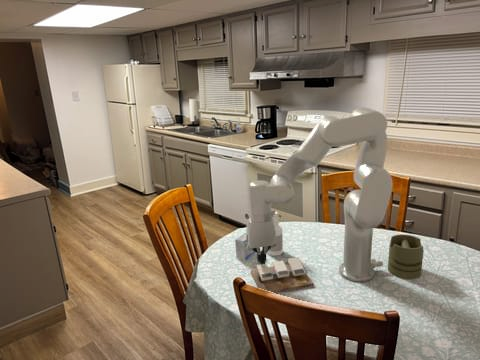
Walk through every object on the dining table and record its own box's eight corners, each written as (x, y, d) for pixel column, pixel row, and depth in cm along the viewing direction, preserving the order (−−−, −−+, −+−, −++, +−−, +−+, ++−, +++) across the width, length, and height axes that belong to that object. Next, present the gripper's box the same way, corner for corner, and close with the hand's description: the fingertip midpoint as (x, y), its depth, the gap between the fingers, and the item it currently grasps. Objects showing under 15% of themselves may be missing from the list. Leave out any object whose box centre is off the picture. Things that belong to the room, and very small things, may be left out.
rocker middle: (282, 263, 136) (282, 260, 136) (289, 276, 130) (289, 273, 130) (272, 264, 136) (272, 261, 135) (278, 278, 130) (278, 275, 129)
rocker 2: (298, 258, 137) (298, 256, 136) (304, 274, 132) (305, 272, 131) (287, 260, 136) (288, 258, 136) (294, 276, 131) (294, 274, 130)
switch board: (297, 265, 143) (297, 257, 142) (313, 286, 129) (313, 278, 128) (250, 272, 139) (250, 265, 138) (261, 295, 125) (261, 287, 124)
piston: (391, 247, 128) (388, 233, 138) (389, 277, 132) (386, 261, 142) (427, 250, 125) (421, 235, 135) (423, 280, 129) (418, 264, 139)
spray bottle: (263, 254, 152) (262, 214, 147) (270, 247, 158) (269, 208, 153) (279, 257, 149) (278, 216, 144) (285, 250, 155) (284, 210, 149)
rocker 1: (267, 265, 135) (267, 262, 135) (272, 278, 129) (273, 276, 129) (256, 267, 134) (256, 264, 134) (262, 280, 128) (262, 277, 128)
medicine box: (244, 261, 148) (243, 241, 145) (236, 258, 150) (234, 239, 148) (256, 253, 154) (255, 234, 151) (247, 250, 156) (246, 231, 154)
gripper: (277, 209, 133) (278, 254, 139) (237, 214, 130) (239, 260, 136) (284, 217, 126) (284, 264, 131) (242, 222, 123) (244, 271, 129)
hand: (261, 262), depth 134 cm, fingers closed
